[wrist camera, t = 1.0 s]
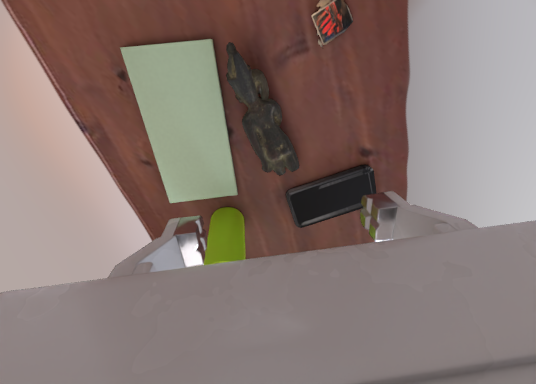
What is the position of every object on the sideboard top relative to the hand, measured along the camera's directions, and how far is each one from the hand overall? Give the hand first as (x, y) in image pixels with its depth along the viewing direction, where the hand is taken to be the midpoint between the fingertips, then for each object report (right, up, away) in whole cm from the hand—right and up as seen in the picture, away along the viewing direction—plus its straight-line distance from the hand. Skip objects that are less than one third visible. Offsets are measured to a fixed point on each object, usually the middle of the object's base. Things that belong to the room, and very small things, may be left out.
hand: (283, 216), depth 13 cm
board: (-12, +10, +24) cm, 29 cm away
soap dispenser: (-8, -4, +33) cm, 34 cm away
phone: (+10, +1, +32) cm, 34 cm away
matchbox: (+7, +23, +19) cm, 31 cm away
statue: (-2, +12, +24) cm, 28 cm away
